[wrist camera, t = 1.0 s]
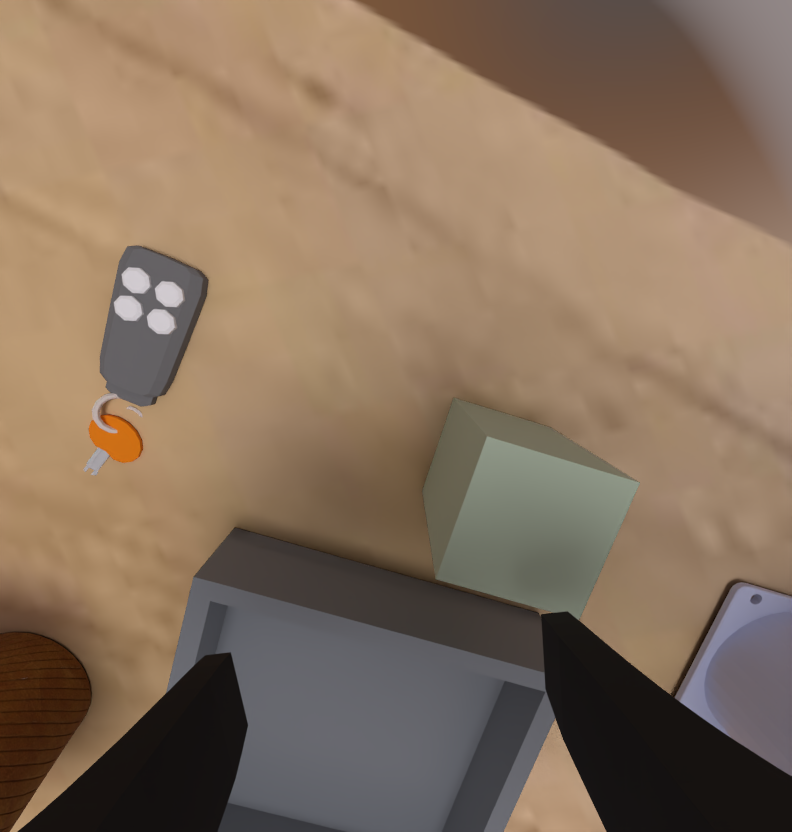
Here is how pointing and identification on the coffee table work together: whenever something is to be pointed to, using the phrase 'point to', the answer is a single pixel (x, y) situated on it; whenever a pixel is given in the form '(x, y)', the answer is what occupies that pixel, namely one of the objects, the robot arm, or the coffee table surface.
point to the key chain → (143, 343)
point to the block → (521, 509)
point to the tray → (367, 692)
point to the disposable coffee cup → (35, 715)
